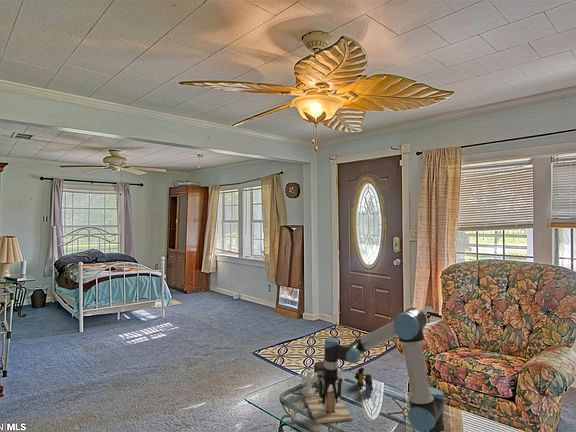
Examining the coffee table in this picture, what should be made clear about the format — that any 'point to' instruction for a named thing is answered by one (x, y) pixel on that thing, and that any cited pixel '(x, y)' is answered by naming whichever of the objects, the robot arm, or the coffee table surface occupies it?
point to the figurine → (309, 384)
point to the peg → (329, 401)
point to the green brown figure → (319, 374)
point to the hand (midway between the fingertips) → (329, 409)
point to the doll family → (368, 381)
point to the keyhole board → (322, 417)
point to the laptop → (341, 375)
